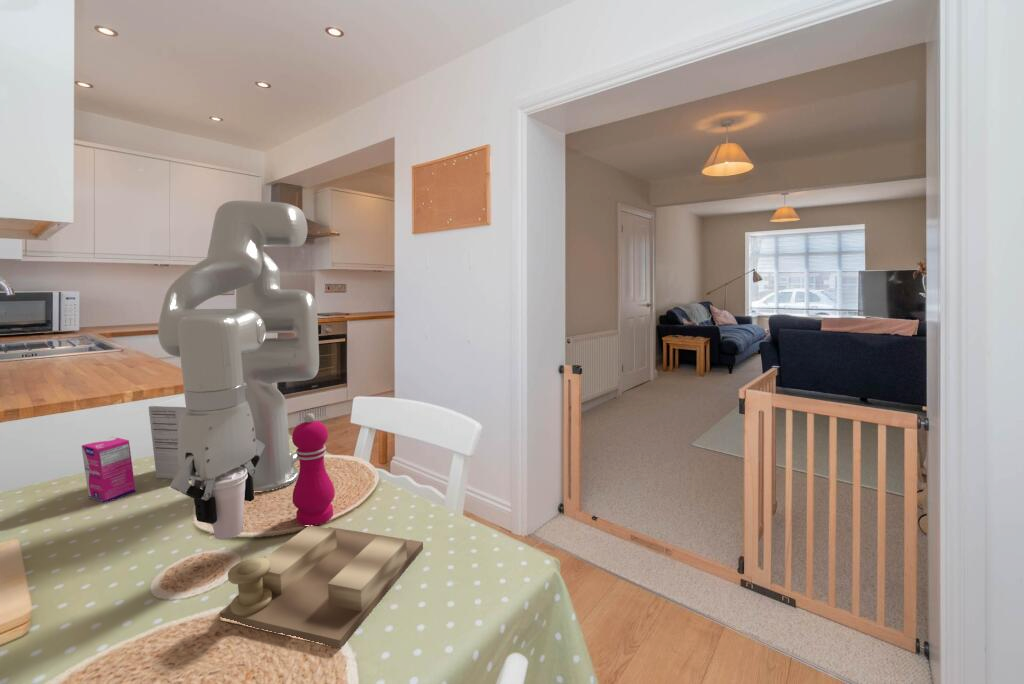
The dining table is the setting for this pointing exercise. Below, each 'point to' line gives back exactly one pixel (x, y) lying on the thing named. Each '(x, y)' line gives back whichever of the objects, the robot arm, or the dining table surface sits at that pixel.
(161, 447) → the supplement box
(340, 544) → the notched board
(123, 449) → the supplement box
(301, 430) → the pepper mill
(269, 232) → the robot arm
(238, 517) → the smoothie
